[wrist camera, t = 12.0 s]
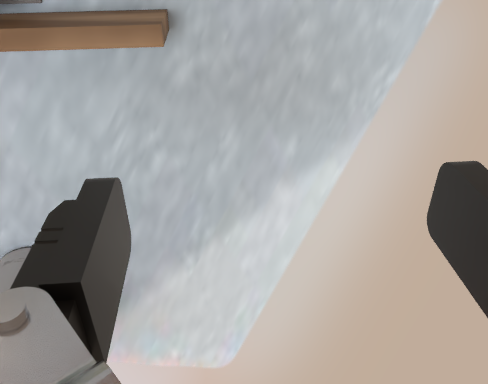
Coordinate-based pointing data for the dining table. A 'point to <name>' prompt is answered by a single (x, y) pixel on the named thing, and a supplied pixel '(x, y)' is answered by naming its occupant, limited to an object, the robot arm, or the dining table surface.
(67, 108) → the dining table surface
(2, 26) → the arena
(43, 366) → the robot arm
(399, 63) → the dining table surface
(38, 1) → the mat
